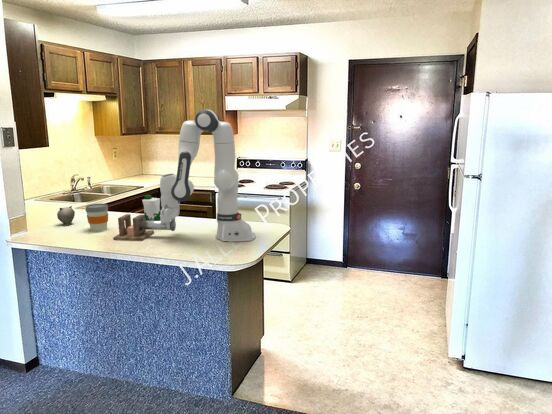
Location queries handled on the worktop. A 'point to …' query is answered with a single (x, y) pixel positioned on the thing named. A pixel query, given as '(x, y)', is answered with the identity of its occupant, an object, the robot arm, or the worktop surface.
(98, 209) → the reusable coffee cup
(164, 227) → the shaft
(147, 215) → the milk carton
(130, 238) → the bearing block
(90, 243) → the worktop surface
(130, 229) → the spacer
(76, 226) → the worktop surface
